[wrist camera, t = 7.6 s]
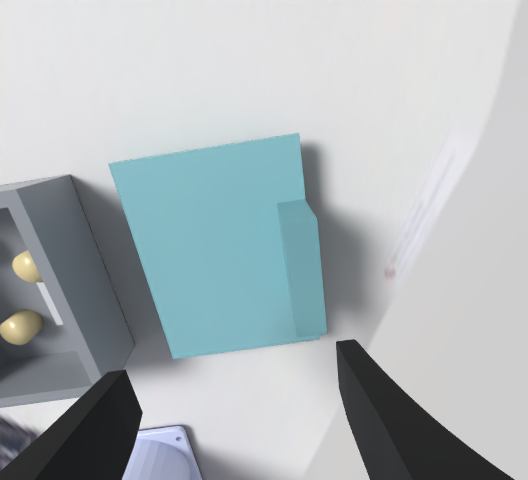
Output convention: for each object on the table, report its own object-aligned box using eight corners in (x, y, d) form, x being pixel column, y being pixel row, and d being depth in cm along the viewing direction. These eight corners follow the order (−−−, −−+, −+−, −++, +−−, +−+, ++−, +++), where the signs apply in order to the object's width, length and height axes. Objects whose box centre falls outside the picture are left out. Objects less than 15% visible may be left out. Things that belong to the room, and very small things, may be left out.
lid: (315, 323, 21) (332, 383, 16) (179, 342, 21) (156, 406, 16) (295, 132, 16) (311, 136, 11) (121, 159, 16) (67, 175, 12)
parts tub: (135, 345, 21) (108, 393, 17) (11, 362, 21) (-41, 413, 18) (69, 174, 17) (16, 189, 13) (-85, 198, 17) (-181, 220, 13)
